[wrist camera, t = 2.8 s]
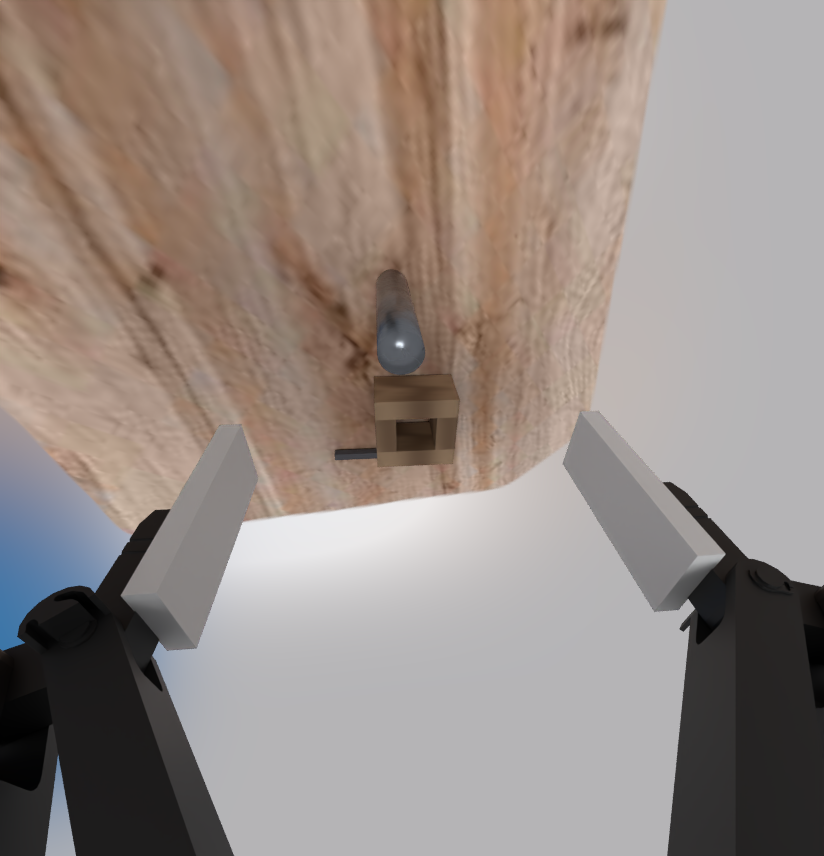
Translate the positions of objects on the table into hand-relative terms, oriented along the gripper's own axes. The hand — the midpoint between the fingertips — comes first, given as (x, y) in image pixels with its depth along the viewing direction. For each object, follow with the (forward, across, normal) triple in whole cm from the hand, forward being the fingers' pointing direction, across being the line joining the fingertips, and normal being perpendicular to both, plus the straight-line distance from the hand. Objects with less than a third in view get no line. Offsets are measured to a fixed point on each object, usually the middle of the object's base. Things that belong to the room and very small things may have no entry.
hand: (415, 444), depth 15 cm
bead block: (+22, +2, -13) cm, 26 cm away
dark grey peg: (+22, 0, 0) cm, 23 cm away
